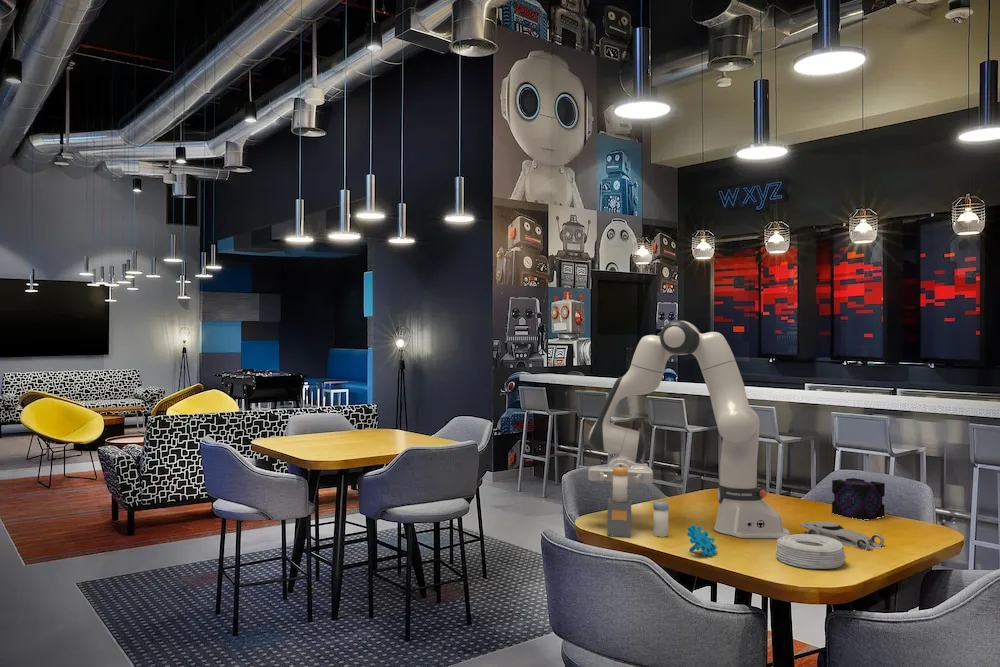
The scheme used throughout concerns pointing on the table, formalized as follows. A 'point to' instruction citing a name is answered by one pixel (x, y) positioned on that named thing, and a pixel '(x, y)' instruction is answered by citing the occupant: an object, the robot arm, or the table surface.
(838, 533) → the car model
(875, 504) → the energy cube
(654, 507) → the blue cap canister
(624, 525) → the box
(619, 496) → the orange cap canister
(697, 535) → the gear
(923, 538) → the table surface
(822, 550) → the cable
